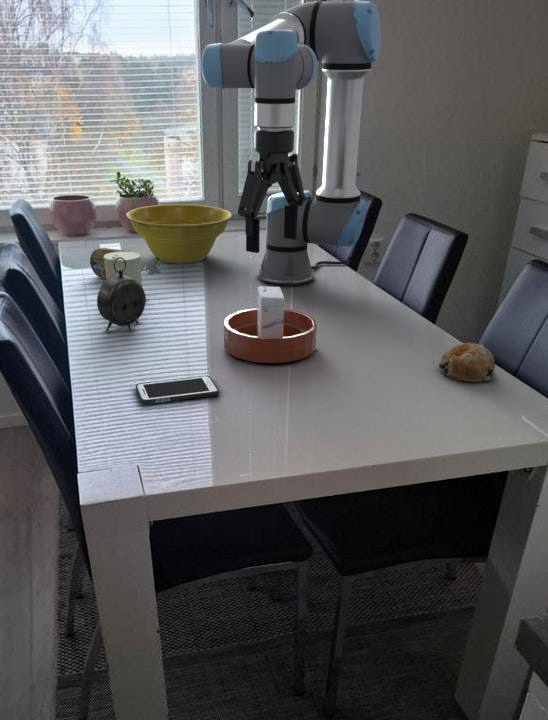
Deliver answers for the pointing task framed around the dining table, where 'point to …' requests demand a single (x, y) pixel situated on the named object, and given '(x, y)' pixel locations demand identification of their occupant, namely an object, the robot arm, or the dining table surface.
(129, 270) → the can
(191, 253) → the planter bowl
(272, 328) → the ink box
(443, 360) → the bread roll
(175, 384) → the cell phone
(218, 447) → the dining table surface
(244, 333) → the bowl
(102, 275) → the tin
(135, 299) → the alarm clock
